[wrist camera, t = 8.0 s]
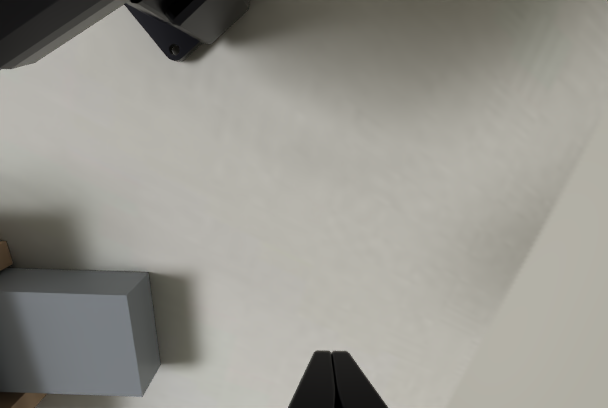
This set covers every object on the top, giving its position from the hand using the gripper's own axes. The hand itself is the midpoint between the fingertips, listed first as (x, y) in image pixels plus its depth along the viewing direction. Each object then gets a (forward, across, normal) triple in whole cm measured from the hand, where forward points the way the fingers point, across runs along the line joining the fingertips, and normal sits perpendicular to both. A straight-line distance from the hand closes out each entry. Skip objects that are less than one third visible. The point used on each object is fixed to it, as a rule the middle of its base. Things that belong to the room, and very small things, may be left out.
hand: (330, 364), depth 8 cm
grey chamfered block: (+11, +18, +7) cm, 22 cm away
